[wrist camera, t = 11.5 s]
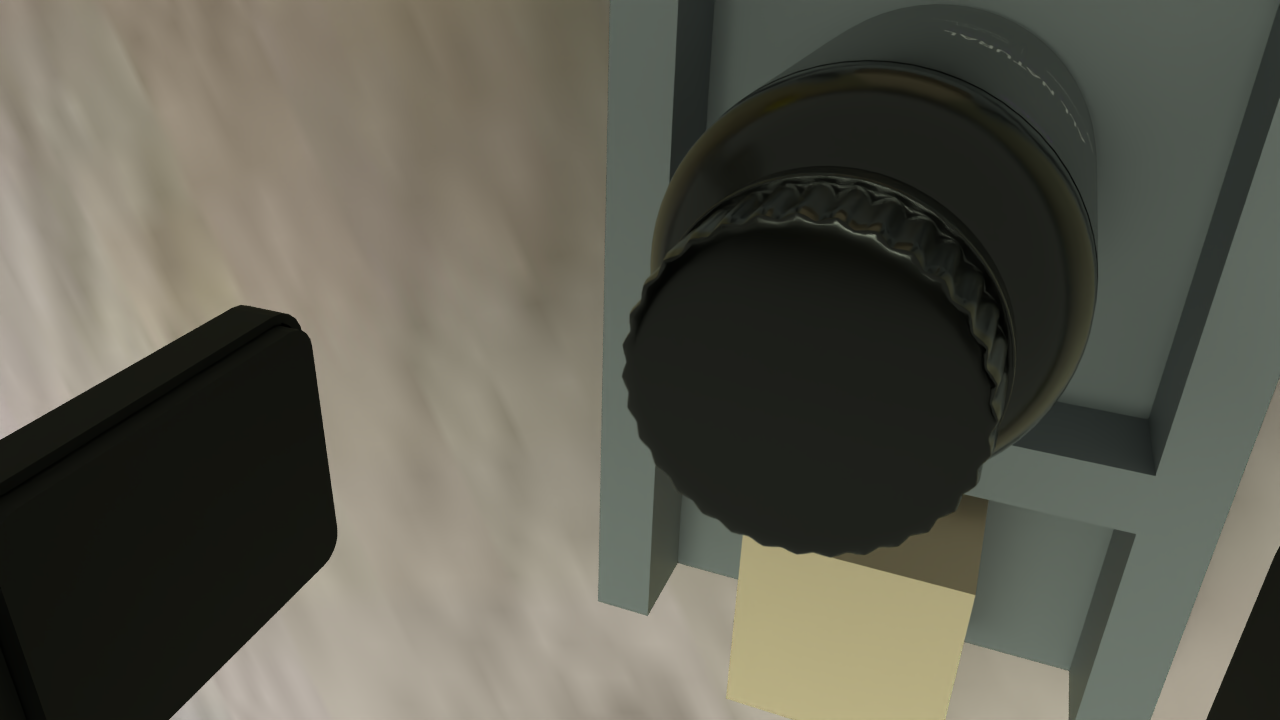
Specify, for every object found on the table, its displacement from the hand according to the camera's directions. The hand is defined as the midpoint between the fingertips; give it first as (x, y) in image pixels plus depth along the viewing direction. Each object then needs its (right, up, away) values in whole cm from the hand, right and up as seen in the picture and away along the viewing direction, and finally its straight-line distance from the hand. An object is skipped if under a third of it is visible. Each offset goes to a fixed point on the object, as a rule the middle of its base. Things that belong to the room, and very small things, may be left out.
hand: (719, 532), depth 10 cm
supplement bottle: (+6, +6, +13) cm, 15 cm away
